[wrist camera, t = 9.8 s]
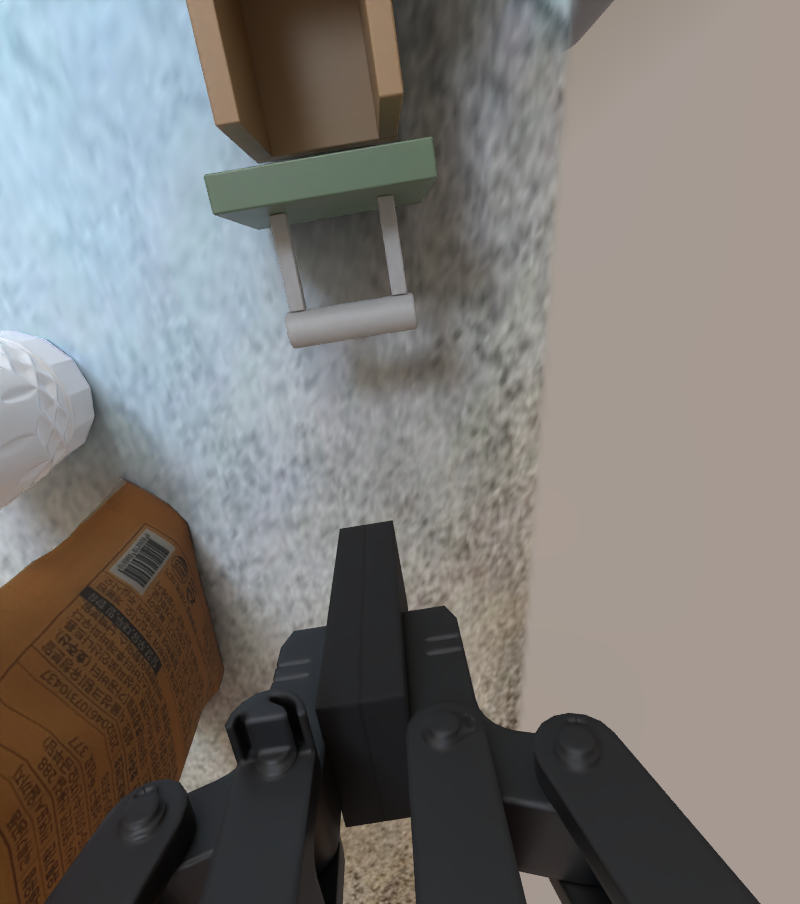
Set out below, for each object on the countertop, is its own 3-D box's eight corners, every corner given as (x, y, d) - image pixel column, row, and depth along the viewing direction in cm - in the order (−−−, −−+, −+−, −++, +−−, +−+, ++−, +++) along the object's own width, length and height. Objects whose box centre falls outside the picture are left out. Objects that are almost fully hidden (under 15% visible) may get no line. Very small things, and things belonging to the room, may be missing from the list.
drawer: (436, 314, 25) (456, 329, 19) (282, 340, 25) (249, 364, 19) (368, -203, 19) (363, -437, 13) (167, -167, 19) (64, -382, 13)
